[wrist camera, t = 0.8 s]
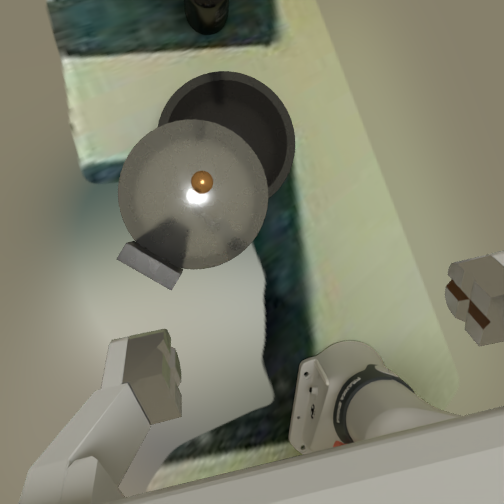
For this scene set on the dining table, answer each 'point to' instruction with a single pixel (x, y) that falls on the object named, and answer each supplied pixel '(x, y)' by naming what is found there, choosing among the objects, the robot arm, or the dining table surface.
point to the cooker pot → (240, 117)
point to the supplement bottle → (206, 14)
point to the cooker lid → (189, 199)
